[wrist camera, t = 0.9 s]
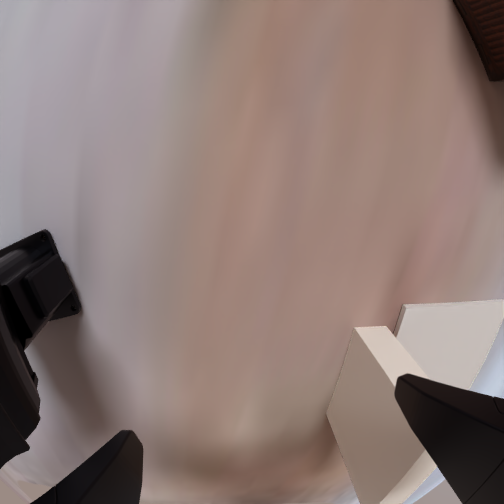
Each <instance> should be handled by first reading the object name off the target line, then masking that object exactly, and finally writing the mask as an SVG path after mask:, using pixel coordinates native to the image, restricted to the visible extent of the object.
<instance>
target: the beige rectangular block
mask: <svg viewBox="0 0 504 504" xmlns="http://www.w3.org/2000/svg"><path fill="white" fill-rule="evenodd" d="M406 373H409V374H413V375H416V376H419V377H423V378H426V379H429V377H428V376H427V375H426V374H425V373H424V371H423V370H422V369H421V368H420V366H419V365H418V364H417V363H416V361H415V360H414V359H413V358H412V357H411V355H410V354H409V353H408V352H407V351H406V349H405V348H404V347H403V346H402V345H401V343H400V342H399V341H398V340H397V339H396V337H395V336H394V335H393V334H392V333H391V332H390V330H389V329H388V328H387V327H386V326H377V327H354V330H353V333H352V337H351V340H350V343H349V347H348V350H347V353H346V357H345V360H344V363H343V366H342V369H341V372H340V375H339V378H338V381H337V384H336V387H335V390H334V393H333V396H332V398H331V401H330V404H329V407H328V409H327V412H326V415H327V418H328V420H329V423H330V425H331V428H332V431H333V433H334V436H335V438H336V441H337V444H338V446H339V449H340V452H341V454H342V457H343V459H344V462H345V465H346V467H347V470H348V473H349V475H350V478H351V481H352V483H353V486H354V489H355V491H356V494H357V496H358V499H359V502H360V504H402V503H403V502H404V501H405V500H406V499H407V498H408V497H409V496H410V495H411V494H412V493H413V492H414V491H415V490H416V489H417V488H418V487H419V486H420V485H421V484H422V483H423V482H424V481H425V480H426V479H427V477H428V476H429V475H430V474H431V473H432V472H433V471H434V470H435V468H436V467H437V465H436V464H435V462H434V461H433V460H432V458H431V457H430V455H429V454H428V452H427V451H426V449H425V448H424V447H423V445H422V444H421V442H420V441H419V439H418V438H417V437H416V435H415V434H414V432H413V431H412V429H411V428H410V426H409V424H408V422H407V420H406V418H405V417H404V415H403V413H402V411H401V409H400V407H399V405H398V403H397V401H396V399H395V396H394V391H395V386H396V381H397V378H398V377H399V376H401V375H404V374H406Z"/></svg>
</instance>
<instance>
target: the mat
mask: <svg viewBox="0 0 504 504" xmlns="http://www.w3.org/2000/svg"><path fill="white" fill-rule="evenodd" d="M503 318H504V299H498V300H484V301H469V302H452V303H430V304H403V305H402V309H401V312H400V315H399V318H398V321H397V324H396V327H395V330H394V333H393V335H394V336H395V337H396V339H397V340H398V341H399V342H400V343H401V345H402V346H403V347H404V348H405V349H406V351H407V352H408V353H409V354H410V355H411V357H412V358H413V359H414V360H415V361H416V363H417V364H418V365H419V366H420V368H421V369H422V370H423V371H424V373H425V374H426V375H427V376H428V377H429V379H430V380H433V381H436V382H440V383H443V384H447V385H451V386H454V387H458V388H462V389H465V390H469V389H470V387H471V386H472V384H473V382H474V380H475V378H476V376H477V375H478V373H479V371H480V369H481V367H482V365H483V363H484V361H485V359H486V357H487V355H488V353H489V351H490V349H491V346H492V344H493V342H494V340H495V338H496V335H497V333H498V331H499V328H500V326H501V323H502V321H503Z"/></svg>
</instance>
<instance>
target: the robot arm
mask: <svg viewBox="0 0 504 504" xmlns="http://www.w3.org/2000/svg"><path fill="white" fill-rule="evenodd" d="M43 235H45V238H46V239H44V238H43ZM73 305H74V306H75V307H76V309H75V308H74V307H73ZM80 310H81V305H80V302H79V300H78V298H77V296H76V294H75V292H74V290H73V286H72V284H71V282H70V280H69V277H68V275H67V273H66V270H65V268H64V266H63V263H62V261H61V258H60V256H59V255H58V253H57V250H56V247H55V245H54V242H53V240H52V237H51V234H50V232H49V231H48V230H46V229H45V230H41V231H39V232H37V233H35V234H33V235H30V236H28V237H26V238H24V239H22V240H20V241H18V242H16V243H14V244H12V245H9V246H7V247H5V248H3V249H1V250H0V469H1V468H2V467H3V466H4V464H5V463H6V462H8V461H9V460H11V459H12V458H13V457H15V456H16V455H19V454H21V453H24V452H26V451H28V450H29V449H30V446H29V445H28V443H27V442H26V441H25V440H26V439H27V438H28V437H29V436H30V434H31V433H32V432H33V431H34V430H35V429H36V427H37V425H38V423H39V421H40V418H41V417H40V415H39V408H40V397H39V394H38V390H37V385H38V378H37V376H36V373H35V372H33V370H32V368H31V366H30V364H29V361H28V359H27V357H26V354H25V352H24V350H25V349H26V348H27V347H28V345H29V344H30V343H31V342H32V340H33V339H34V338H35V337H36V335H37V334H38V333H39V332H40V330H41V329H42V328H43V327H44V326H45V324H46V323H47V322H48V321H51V320H55V319H59V318H63V317H67V316H71V315H75V314H78V313H79V311H80ZM394 396H395V399H396V401H397V403H398V405H399V407H400V409H401V411H402V413H403V415H404V417H405V418H406V420H407V422H408V424H409V426H410V428H411V429H412V431H413V432H414V434H415V435H416V437H417V438H418V439H419V441H420V442H421V444H422V445H423V447H424V448H425V449H426V451H427V452H428V454H429V455H430V457H431V458H432V460H433V461H434V462H435V464H436V465H437V467H438V468H439V470H440V471H441V473H442V474H443V476H444V477H445V479H446V480H447V481H448V483H449V484H450V486H451V487H452V489H453V490H454V492H455V493H456V495H457V496H458V498H459V499H460V501H461V502H462V504H504V399H503V398H498V397H492V396H489V395H485V394H481V393H477V392H473V391H469V390H465V389H462V388H458V387H454V386H451V385H447V384H443V383H440V382H436V381H433V380H430V379H426V378H423V377H419V376H416V375H413V374H409V373H406V374H404V375H401V376H399V377H398V378H397V381H396V386H395V391H394ZM142 474H143V446H142V443H141V442H140V440H139V439H138V437H137V436H136V434H135V433H134V432H133V431H132V430H121V431H120V432H119V433H117V434H116V435H115V436H114V437H113V438H112V439H111V440H109V441H108V442H107V443H106V444H105V445H104V446H102V447H101V448H100V449H99V450H98V451H97V452H95V453H94V454H93V455H92V456H91V457H89V458H88V459H87V460H86V461H85V462H84V463H82V464H81V465H80V466H79V467H77V468H76V469H75V470H74V471H73V472H71V473H70V474H69V475H68V476H67V477H65V478H64V479H63V480H62V481H60V482H59V483H58V484H57V485H56V486H54V487H52V488H51V489H50V490H49V491H47V492H46V493H45V494H43V495H42V496H41V497H39V498H38V499H36V500H35V501H33V502H32V503H30V504H139V500H140V494H141V487H142Z"/></svg>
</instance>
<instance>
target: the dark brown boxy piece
mask: <svg viewBox="0 0 504 504" xmlns="http://www.w3.org/2000/svg"><path fill="white" fill-rule="evenodd" d="M453 2H454V4H455V5H456V7H457V9H458V11H459V13H460V15H461V17H462V19H463V21H464V23H465V25H466V27H467V29H468V31H469V34H470V36H471V38H472V40H473V42H474V44H475V46H476V49H477V51H478V53H479V55H480V58H481V60H482V62H483V65H484V67H485V70H486V72H487V75H488V77H489V80H490V81H493V82H494V81H504V0H453Z"/></svg>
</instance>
